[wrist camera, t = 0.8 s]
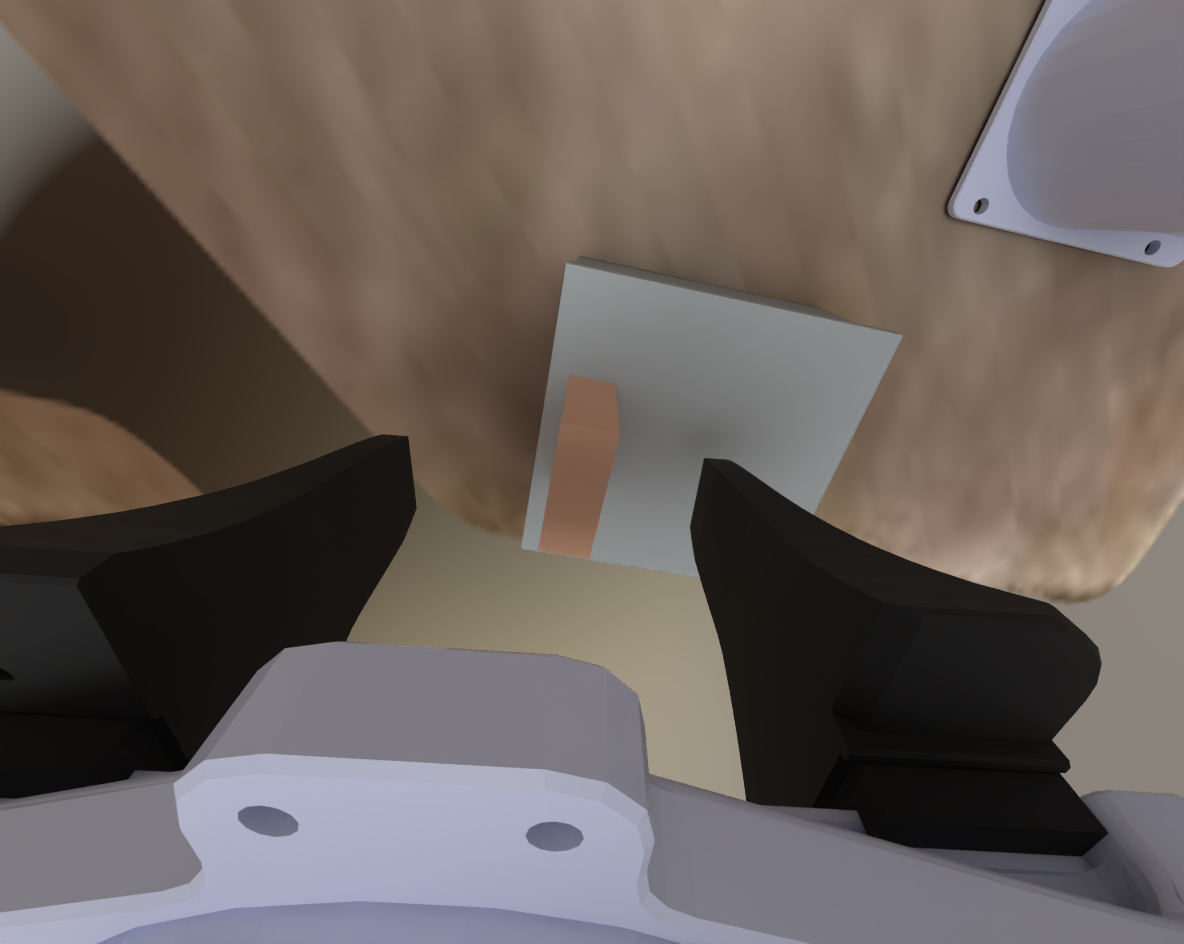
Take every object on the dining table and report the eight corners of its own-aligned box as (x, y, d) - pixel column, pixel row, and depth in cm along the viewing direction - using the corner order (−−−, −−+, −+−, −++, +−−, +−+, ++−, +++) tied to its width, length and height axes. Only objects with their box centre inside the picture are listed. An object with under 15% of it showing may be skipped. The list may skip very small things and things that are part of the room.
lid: (892, 331, 15) (1000, 374, 11) (770, 580, 20) (814, 673, 16) (567, 261, 14) (554, 280, 10) (523, 539, 19) (503, 626, 15)
